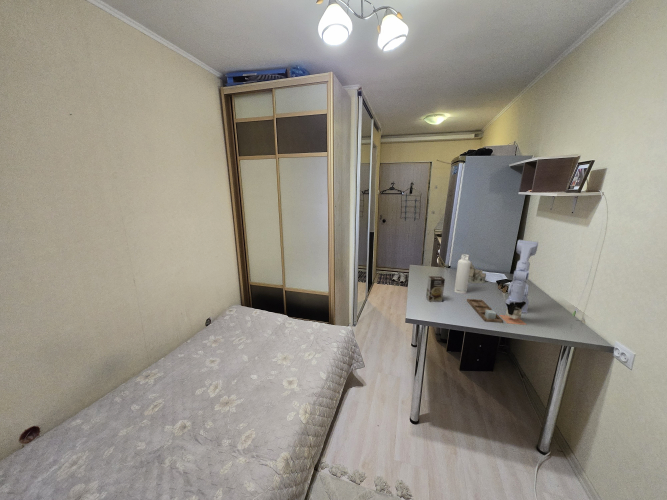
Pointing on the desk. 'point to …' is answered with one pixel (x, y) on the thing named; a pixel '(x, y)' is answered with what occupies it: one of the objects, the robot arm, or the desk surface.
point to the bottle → (462, 274)
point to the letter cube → (515, 313)
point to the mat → (512, 320)
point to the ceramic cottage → (476, 275)
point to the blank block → (490, 314)
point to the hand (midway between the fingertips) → (513, 313)
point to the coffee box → (435, 289)
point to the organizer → (483, 310)
